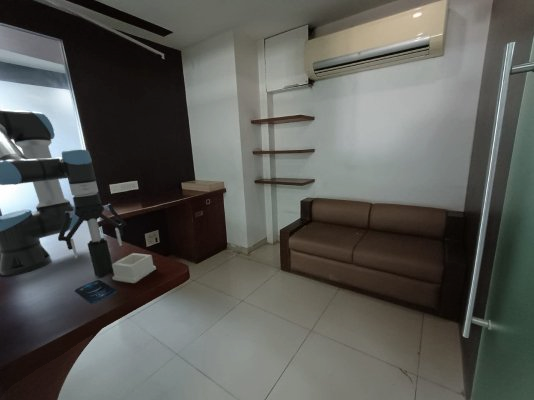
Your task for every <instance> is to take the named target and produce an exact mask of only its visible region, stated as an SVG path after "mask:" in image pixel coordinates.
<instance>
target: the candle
mask: <svg viewBox="0 0 534 400" xmlns="http://www.w3.org/2000/svg"><path fill="white" fill-rule="evenodd" d="M86 224H87V227H88V231H89V235H90V239H91V240H89V242H88V243H87V248H88V252H89V257H90V260H91V263H92V268H93V272H94V276H95V277H98V278H104V277H105V276H108V275H110V274H112V273H113V274H114V272H113V267H112V264H113V262H112V256H111V253H110V249H109V244H108V240H107V239H105V238H104V237H102V236H101V235H102V234H101V231H100V227H99V223H98V219H96V220H95V219H90V220H89V221H86Z"/></svg>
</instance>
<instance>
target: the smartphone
mask: <svg viewBox="0 0 534 400" xmlns="http://www.w3.org/2000/svg"><path fill="white" fill-rule="evenodd" d="M117 291H118V290H117V289H115V288H114V287H112V286H110V285H109V284H107V283H105V282H104V281H103V280H101V279H97V280H94V281H92V282H88V283H87V284H84V285H82V286H80V287H77V288H76V289H74V292H75V293H76V294H77V295H78V296H80V298H82V300H84V301H86V303H88V304H90V305H93V304H96V303H97V302H99V301H102V300H104V299H106V298H108V297H109V296H111V295H113V294H116V293H117Z"/></svg>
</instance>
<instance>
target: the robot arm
mask: <svg viewBox="0 0 534 400" xmlns="http://www.w3.org/2000/svg"><path fill="white" fill-rule="evenodd" d="M54 131H55V129H54V127H53V124H52V122H51V121H50V119H49V118H48V116H46V114H44V113H42V112H39V111H31V110H16V109H15V110H11V109H0V186H7V185H22V184H26V183H27V184H28V183H32V184H33V187H34V190H35V193H36V197H37V199H38V204H37V205H36V206H35V209H36V211H32V210H31V209H23V210H22V209H21V210H16V211H12V212H9V213H6V214H3V215H0V254H1V256H0V274H1V276H15V275H20V274H24V273H28V272H32V271H34V270H36V269H40V268H41V267H44V266H46V265H47V264H49V263H50V262H51V260H52V258H51V256H50V254H49V252H48V251H47V250H46V249H45V247H44V246H43V245H42V243H41V240H40V239H41V238H45V237H50V236H54V235H58V234H59V235H58V237H57V240H58V241H59V242H66V247H67V250H69V251H70V250H72V253H73V255H74V259H77V258H79V257H78V253H77V249H76V245H75V241H74V238H73V236H74V235H75V234H76V232H77V231H78V230H79V228H80V227H81V225H82V224H83V223H84V222H87V221H89V220H90V219H95V220H96V219H97V220H98V219H100V218H101V219H102V220H103V221H106V222H107V223H109V224H110V225H113V226H114V227H115V228H114V229H115V233H116V234H115V235H116V238H117V242H118V243H117V244H118V245H119V246H120V247H121V246H123V243H122V238H121V237H124V233H123V228H124V227H125V226H127V223H126V221H125V220H124V219H123V218H122V217H121V215H119V214H118V213H117V211H116V210H115V209H114V206H113V205H112V204H111V203H108V204H106V205H102V201H101V196H100V194H99V188H98V185H97V179H96V176H95V171H94V167H93V166H94V165H93V162H92V161H93V160H92V158H91V154H90V151H88V150H87V149H69V150H67V149H66V150H62V151H61V156H60V157H59V156H58V157H52V154H51V151H50V148H49V147H50V145H51V144H52V140H54V139H55V132H54ZM20 148H21V150H20ZM63 179H67V181H68V186H69V188H70V192H71V193H70V194H71V195H72V196H73V197H72V202H73V204H71V201H70V200H69V199H66V198H65V196H64V192H63V189H62V186H61V183H60V180H63ZM104 210H106V211H107V212H108V211H109V212H110V213H111V214H112V215H113V216H114V217H115V219H117V220H118V221H119V222H120V223H118V222H117V221H115V220H113V219H111V218H110V217H108V216H106V215H105V214H103V212H104ZM67 232H68V233H67ZM66 233H67V235H66V236H65V234H66Z"/></svg>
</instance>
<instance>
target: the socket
mask: <svg viewBox="0 0 534 400" xmlns="http://www.w3.org/2000/svg"><path fill="white" fill-rule="evenodd" d="M112 267H113V276H111V277H112V280H113V281H117V282H123V283H129V284H136V283H138V282H139V281H141V280H142V279H143V278H145V277H147V276H148V275H150V274H151V273H152V272H153V271H155V270H157V267H156V265H154V262H153V256H152V254H145V253H136V252H132V253H131V254H129V255H127V256H125V257H122V258H121V259H119V260H117V261H115V262H114V263H113V262H112Z"/></svg>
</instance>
